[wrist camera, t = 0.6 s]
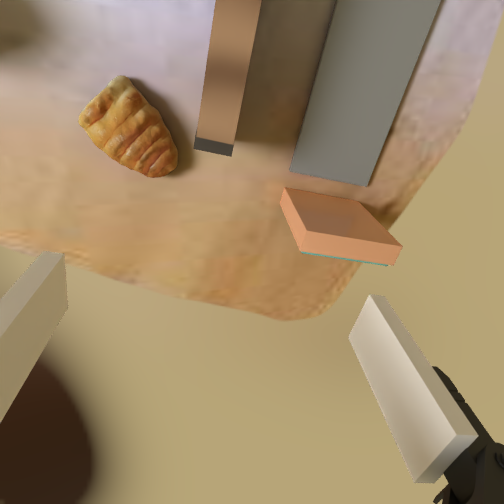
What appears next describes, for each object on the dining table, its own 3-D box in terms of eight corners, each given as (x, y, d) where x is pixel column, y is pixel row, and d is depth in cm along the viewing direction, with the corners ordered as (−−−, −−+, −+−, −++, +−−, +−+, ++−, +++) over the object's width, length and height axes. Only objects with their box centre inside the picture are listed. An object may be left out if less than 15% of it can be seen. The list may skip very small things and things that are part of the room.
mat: (397, -221, 23) (401, -227, 23) (505, -172, 25) (511, -177, 24) (289, 170, 36) (290, 171, 36) (364, 185, 38) (366, 186, 38)
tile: (284, 187, 37) (307, 230, 28) (357, 201, 39) (402, 246, 30) (279, 206, 39) (299, 254, 29) (350, 218, 40) (392, 268, 31)
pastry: (195, 146, 35) (192, 156, 31) (151, 188, 36) (144, 201, 33) (121, 67, 31) (110, 69, 27) (76, 119, 32) (60, 126, 29)
